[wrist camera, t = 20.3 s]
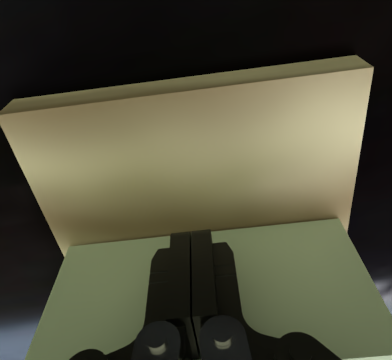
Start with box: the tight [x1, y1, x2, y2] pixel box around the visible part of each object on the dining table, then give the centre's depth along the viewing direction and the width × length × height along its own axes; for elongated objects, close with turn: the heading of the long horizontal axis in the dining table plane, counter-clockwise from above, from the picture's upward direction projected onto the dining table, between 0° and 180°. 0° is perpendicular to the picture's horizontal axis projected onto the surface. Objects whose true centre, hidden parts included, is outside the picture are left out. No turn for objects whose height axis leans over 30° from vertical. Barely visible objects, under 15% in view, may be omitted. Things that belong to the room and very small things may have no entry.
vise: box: [0, 55, 374, 257], centre depth 17 cm, size 24×13×8 cm, turn 7°
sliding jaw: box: [25, 218, 392, 360], centre depth 16 cm, size 9×12×6 cm
